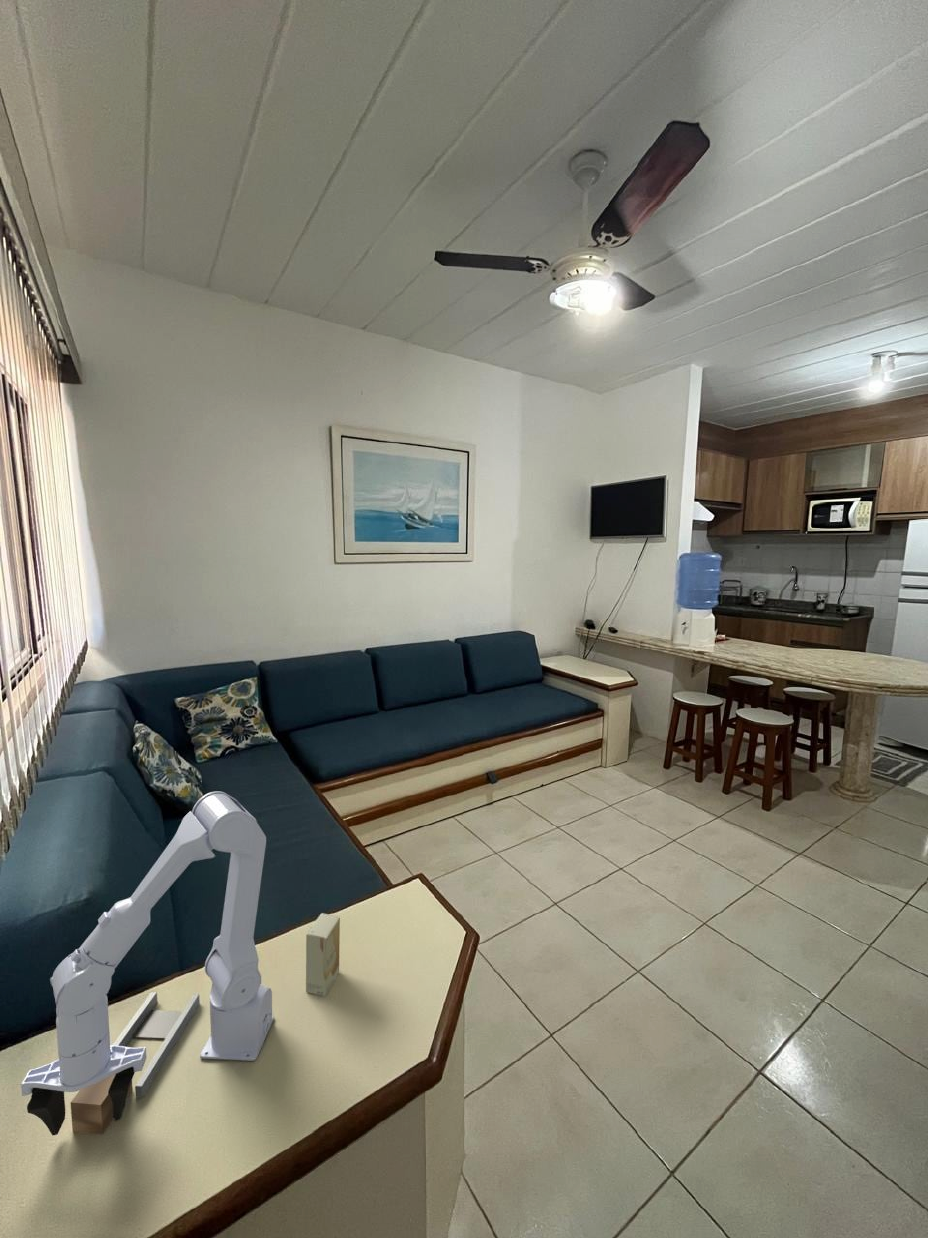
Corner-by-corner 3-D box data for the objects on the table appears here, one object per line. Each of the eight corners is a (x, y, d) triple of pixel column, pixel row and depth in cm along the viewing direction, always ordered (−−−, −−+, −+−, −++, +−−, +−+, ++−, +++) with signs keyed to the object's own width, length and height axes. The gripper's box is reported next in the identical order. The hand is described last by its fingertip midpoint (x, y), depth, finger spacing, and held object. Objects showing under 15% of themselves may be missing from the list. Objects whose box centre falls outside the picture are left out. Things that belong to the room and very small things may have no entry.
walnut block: (132, 1090, 76) (130, 1062, 76) (102, 1135, 70) (100, 1105, 70) (104, 1087, 76) (103, 1060, 76) (72, 1132, 70) (70, 1102, 70)
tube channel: (199, 1003, 91) (199, 994, 91) (142, 1097, 75) (141, 1086, 75) (152, 1001, 91) (151, 991, 91) (84, 1094, 75) (83, 1083, 75)
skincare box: (325, 997, 93) (325, 939, 92) (305, 993, 94) (304, 935, 92) (340, 970, 99) (340, 915, 98) (321, 966, 100) (321, 911, 99)
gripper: (152, 1002, 74) (155, 1079, 76) (39, 1022, 71) (45, 1103, 72) (134, 1046, 68) (138, 1130, 69) (8, 1071, 64) (16, 1159, 66)
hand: (89, 1120), depth 70 cm, fingers open, 7 cm apart
